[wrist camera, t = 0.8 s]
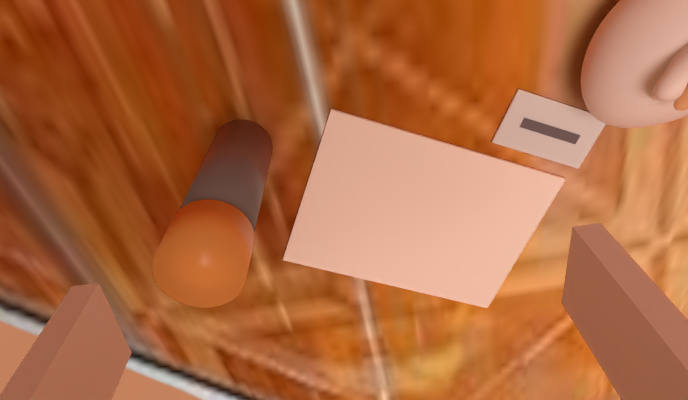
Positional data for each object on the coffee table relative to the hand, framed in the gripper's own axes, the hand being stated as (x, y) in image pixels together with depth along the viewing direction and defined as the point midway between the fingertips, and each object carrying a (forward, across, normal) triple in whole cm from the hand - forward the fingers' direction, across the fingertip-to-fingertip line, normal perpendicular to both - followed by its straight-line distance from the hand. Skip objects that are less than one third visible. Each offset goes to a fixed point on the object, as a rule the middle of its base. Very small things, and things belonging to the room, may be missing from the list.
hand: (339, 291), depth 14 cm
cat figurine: (+21, +22, +2) cm, 30 cm away
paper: (+21, +5, -12) cm, 25 cm away
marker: (+21, -6, -4) cm, 22 cm away
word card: (+21, +15, -6) cm, 26 cm away
